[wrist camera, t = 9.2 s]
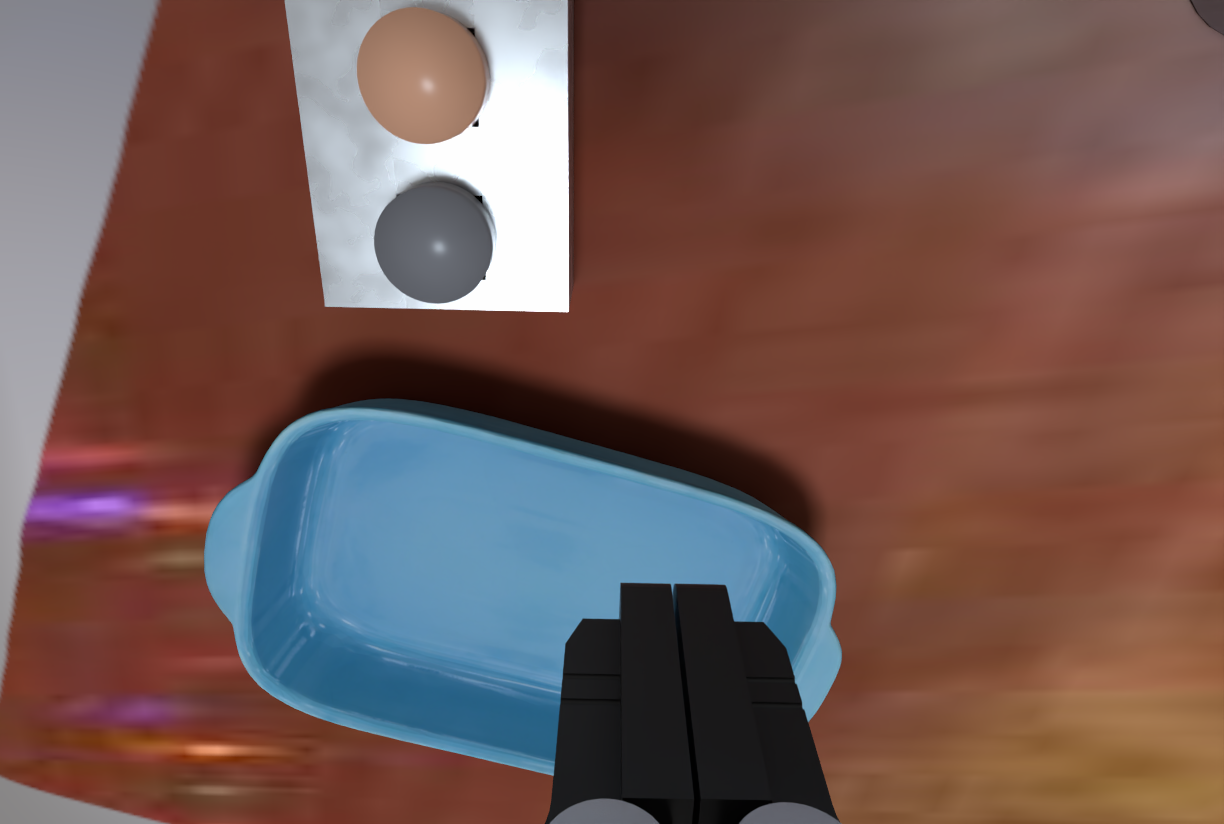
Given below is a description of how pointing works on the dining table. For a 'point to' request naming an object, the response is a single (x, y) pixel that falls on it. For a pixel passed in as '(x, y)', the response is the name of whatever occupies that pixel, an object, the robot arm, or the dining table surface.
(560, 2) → the mount
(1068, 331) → the dining table surface
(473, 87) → the tan egg
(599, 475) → the casserole dish
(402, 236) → the knob
